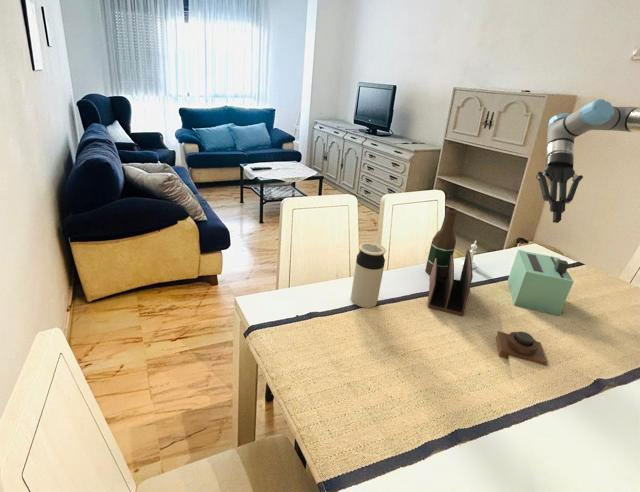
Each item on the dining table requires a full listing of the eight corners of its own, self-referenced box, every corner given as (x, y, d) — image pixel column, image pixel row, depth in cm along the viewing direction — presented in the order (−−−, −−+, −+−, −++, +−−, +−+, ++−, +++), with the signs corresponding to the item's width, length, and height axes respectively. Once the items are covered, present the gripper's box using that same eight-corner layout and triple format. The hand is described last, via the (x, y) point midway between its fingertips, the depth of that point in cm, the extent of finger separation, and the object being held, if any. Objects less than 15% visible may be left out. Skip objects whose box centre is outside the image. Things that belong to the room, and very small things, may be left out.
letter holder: (460, 284, 129) (471, 246, 123) (463, 317, 112) (475, 275, 106) (429, 276, 132) (438, 239, 126) (427, 307, 115) (437, 266, 109)
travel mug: (366, 312, 111) (375, 257, 104) (345, 299, 117) (352, 246, 110) (382, 302, 116) (392, 249, 109) (361, 290, 122) (369, 239, 114)
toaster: (548, 289, 128) (560, 257, 123) (559, 316, 115) (574, 281, 110) (507, 280, 132) (518, 249, 127) (514, 305, 119) (526, 271, 114)
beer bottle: (426, 277, 132) (442, 212, 122) (423, 266, 139) (437, 203, 129) (450, 280, 131) (467, 214, 121) (445, 268, 138) (461, 206, 128)
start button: (529, 339, 98) (531, 333, 97) (532, 348, 95) (534, 342, 94) (513, 335, 99) (516, 329, 99) (516, 343, 96) (518, 338, 96)
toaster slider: (563, 269, 115) (566, 261, 114) (565, 273, 113) (568, 264, 112) (553, 267, 116) (557, 259, 115) (555, 271, 114) (559, 262, 113)
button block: (538, 348, 100) (542, 336, 99) (544, 369, 94) (549, 356, 92) (495, 337, 104) (499, 325, 102) (498, 356, 97) (503, 344, 95)
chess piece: (459, 264, 141) (466, 240, 137) (464, 260, 145) (471, 236, 141) (473, 269, 138) (480, 245, 134) (478, 265, 142) (485, 241, 138)
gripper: (578, 164, 131) (576, 228, 124) (533, 161, 135) (529, 222, 128) (587, 152, 124) (586, 219, 117) (541, 149, 129) (537, 213, 121)
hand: (556, 221), depth 123 cm, fingers closed
